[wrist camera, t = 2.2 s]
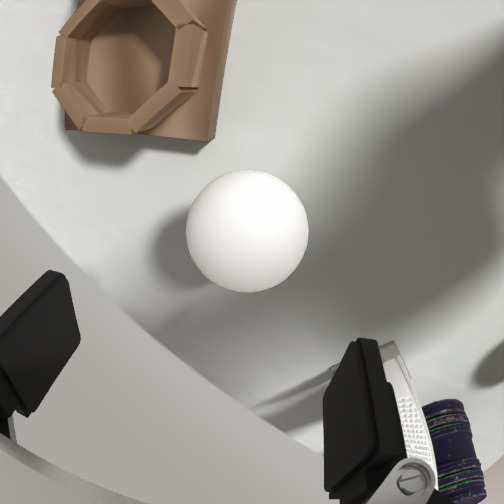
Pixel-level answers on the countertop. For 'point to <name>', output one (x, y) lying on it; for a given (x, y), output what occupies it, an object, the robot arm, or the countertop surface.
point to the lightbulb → (247, 231)
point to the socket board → (143, 66)
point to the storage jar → (454, 452)
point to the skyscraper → (407, 407)
